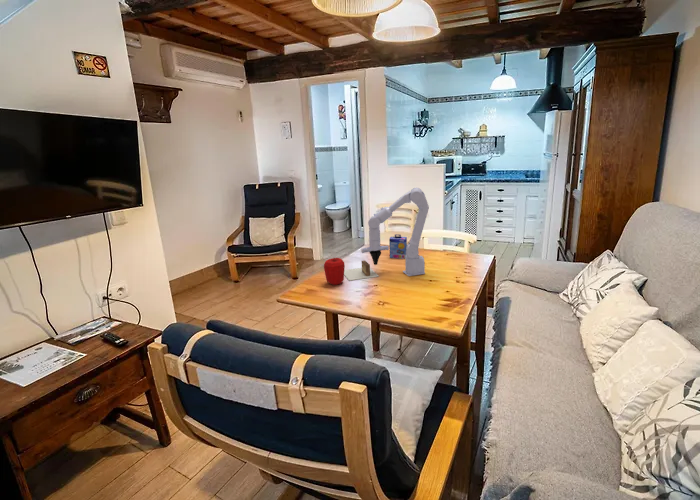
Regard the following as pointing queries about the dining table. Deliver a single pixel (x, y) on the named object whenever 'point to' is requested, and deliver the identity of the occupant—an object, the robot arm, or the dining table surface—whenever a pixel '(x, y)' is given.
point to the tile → (366, 268)
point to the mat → (358, 274)
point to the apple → (334, 271)
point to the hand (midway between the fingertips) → (375, 264)
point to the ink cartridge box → (398, 246)
